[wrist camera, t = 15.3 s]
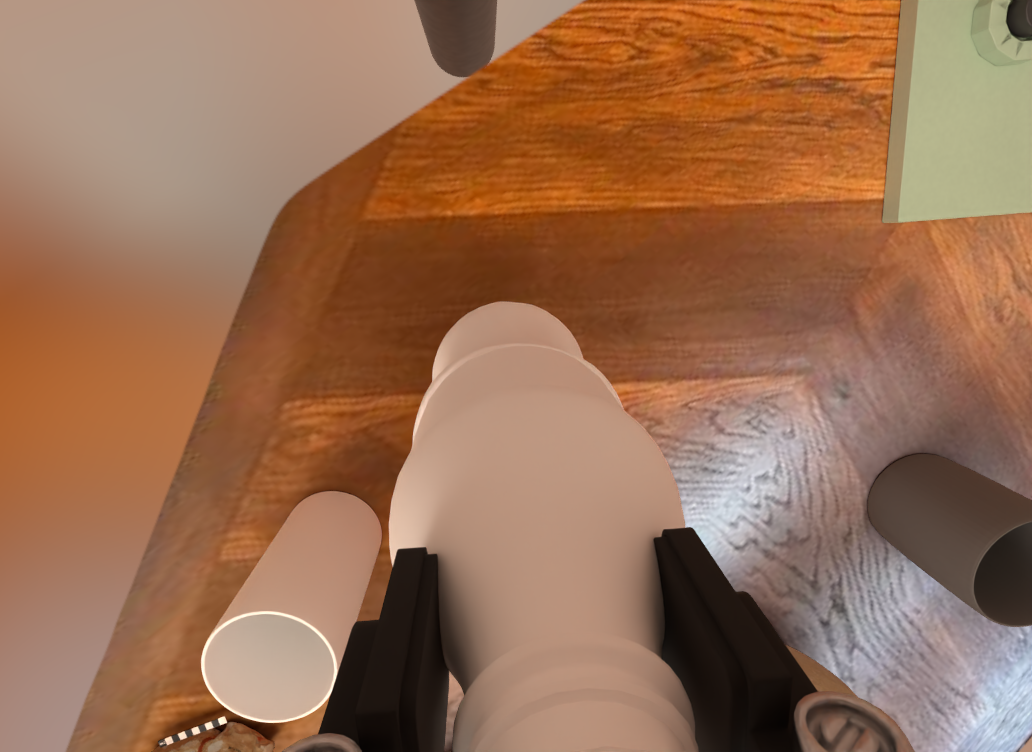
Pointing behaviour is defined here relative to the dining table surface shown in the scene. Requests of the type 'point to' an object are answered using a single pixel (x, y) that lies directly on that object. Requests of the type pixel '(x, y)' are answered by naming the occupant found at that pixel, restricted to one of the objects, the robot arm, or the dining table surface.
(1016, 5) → the button
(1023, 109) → the scale
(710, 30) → the dining table surface
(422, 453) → the water bottle
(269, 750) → the fossil
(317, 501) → the cup
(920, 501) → the mug
